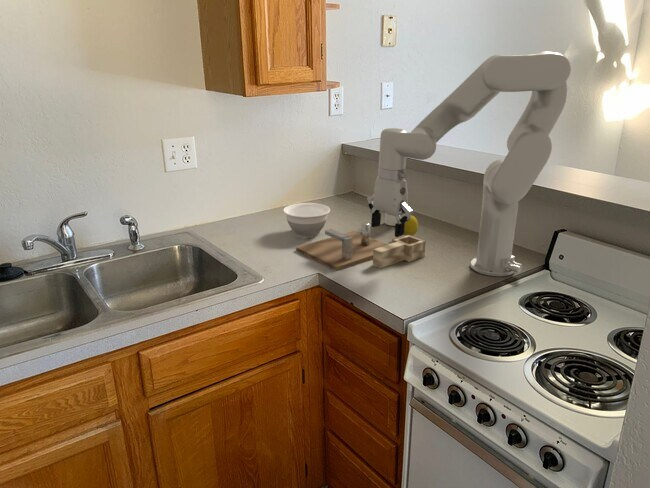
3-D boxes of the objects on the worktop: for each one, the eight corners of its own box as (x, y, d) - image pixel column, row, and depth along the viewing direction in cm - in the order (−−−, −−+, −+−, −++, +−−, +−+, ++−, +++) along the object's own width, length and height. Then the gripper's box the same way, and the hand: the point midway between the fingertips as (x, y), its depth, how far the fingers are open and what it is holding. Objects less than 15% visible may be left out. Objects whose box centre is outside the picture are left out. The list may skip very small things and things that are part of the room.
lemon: (416, 234, 182) (418, 212, 179) (417, 240, 177) (419, 217, 174) (400, 234, 183) (401, 211, 180) (400, 240, 177) (402, 217, 174)
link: (407, 249, 169) (408, 234, 167) (424, 256, 164) (425, 241, 162) (368, 262, 159) (368, 247, 158) (384, 270, 154) (385, 254, 152)
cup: (402, 220, 197) (404, 182, 191) (407, 227, 189) (409, 188, 184) (380, 220, 196) (382, 182, 191) (384, 227, 189) (385, 188, 184)
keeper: (352, 258, 160) (352, 237, 157) (346, 260, 158) (346, 239, 156) (331, 248, 167) (331, 228, 165) (325, 250, 166) (325, 230, 163)
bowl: (278, 228, 189) (277, 205, 186) (321, 223, 194) (321, 200, 190) (291, 243, 175) (290, 218, 172) (336, 238, 179) (337, 213, 176)
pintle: (371, 244, 170) (372, 223, 168) (365, 246, 168) (365, 225, 166) (365, 242, 172) (366, 221, 170) (359, 244, 170) (359, 223, 168)
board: (395, 251, 168) (395, 247, 168) (336, 270, 154) (336, 266, 154) (353, 234, 183) (353, 230, 182) (296, 250, 169) (296, 247, 168)
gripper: (423, 178, 146) (418, 237, 152) (379, 166, 159) (376, 220, 165) (404, 182, 142) (399, 242, 148) (360, 169, 154) (357, 225, 160)
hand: (387, 231), depth 156 cm, fingers open, 9 cm apart
